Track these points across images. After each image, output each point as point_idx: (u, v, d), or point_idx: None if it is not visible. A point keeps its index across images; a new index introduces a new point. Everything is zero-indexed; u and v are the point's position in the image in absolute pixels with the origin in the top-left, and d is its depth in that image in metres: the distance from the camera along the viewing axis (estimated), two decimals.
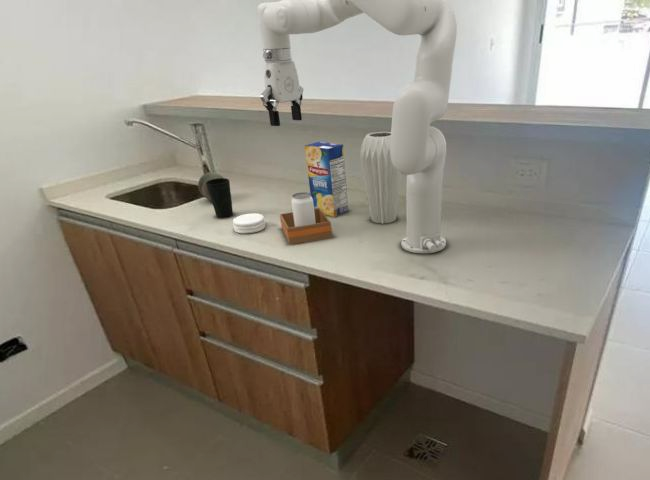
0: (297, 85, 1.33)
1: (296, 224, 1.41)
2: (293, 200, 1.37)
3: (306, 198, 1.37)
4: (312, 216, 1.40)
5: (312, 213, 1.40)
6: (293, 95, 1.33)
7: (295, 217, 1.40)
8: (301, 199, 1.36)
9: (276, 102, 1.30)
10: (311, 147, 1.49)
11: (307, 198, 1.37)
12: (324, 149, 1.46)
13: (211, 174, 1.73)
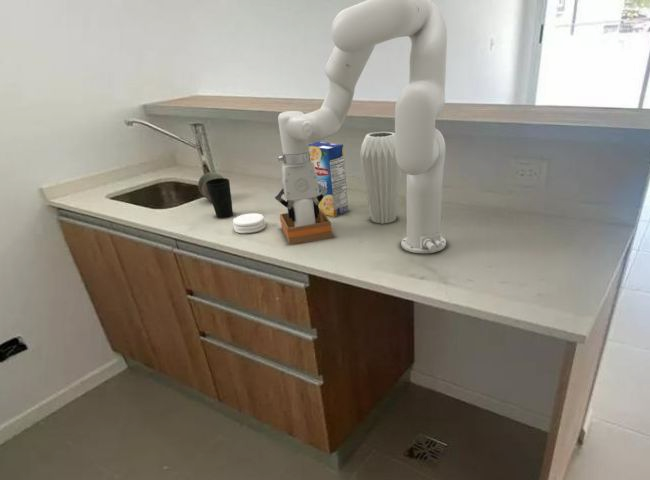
0: (314, 185, 1.35)
1: (296, 224, 1.41)
2: None
3: None
4: (312, 216, 1.40)
5: (312, 213, 1.40)
6: (307, 194, 1.36)
7: (295, 217, 1.40)
8: (301, 199, 1.36)
9: (290, 201, 1.37)
10: (311, 147, 1.49)
11: None
12: (324, 149, 1.46)
13: (211, 174, 1.73)
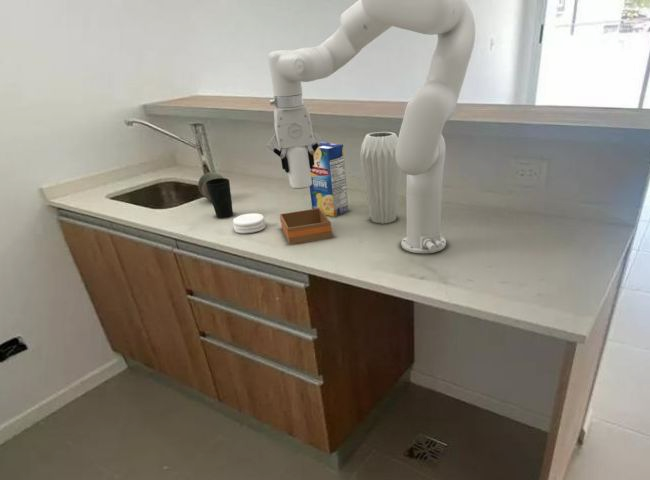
0: (308, 131, 1.28)
1: (290, 175, 1.34)
2: None
3: (300, 146, 1.29)
4: (307, 166, 1.33)
5: (307, 163, 1.32)
6: (301, 141, 1.29)
7: (289, 167, 1.32)
8: (295, 147, 1.29)
9: (283, 149, 1.30)
10: None
11: None
12: (324, 149, 1.46)
13: (211, 174, 1.73)
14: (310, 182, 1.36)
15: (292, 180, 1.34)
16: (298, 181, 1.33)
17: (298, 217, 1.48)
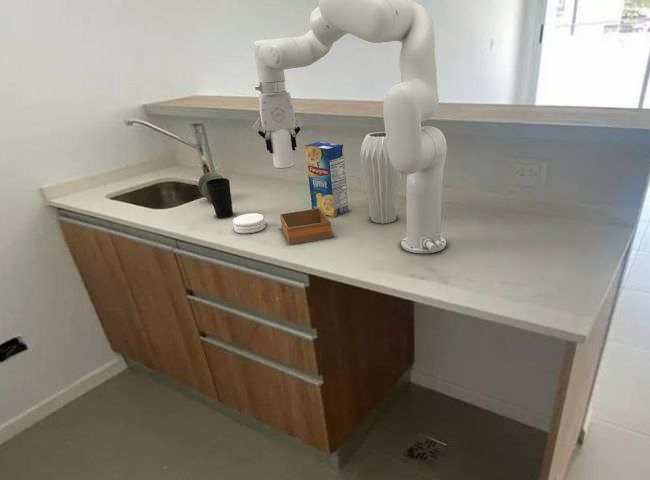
0: (290, 115, 1.39)
1: (274, 156, 1.45)
2: None
3: (283, 129, 1.41)
4: (289, 148, 1.44)
5: (289, 145, 1.44)
6: (284, 124, 1.40)
7: (273, 149, 1.44)
8: (278, 129, 1.40)
9: (267, 131, 1.41)
10: (311, 147, 1.49)
11: (284, 129, 1.41)
12: (324, 149, 1.46)
13: (211, 174, 1.73)
14: (292, 163, 1.47)
15: (276, 160, 1.45)
16: (281, 162, 1.45)
17: (298, 217, 1.48)
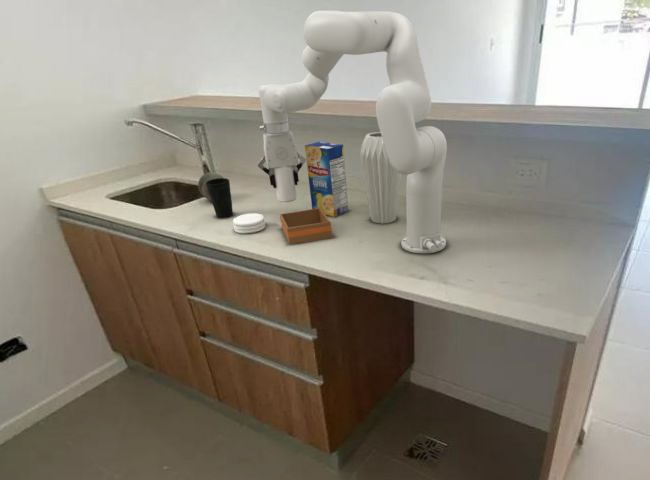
0: (293, 153, 1.48)
1: (277, 190, 1.53)
2: (274, 168, 1.50)
3: None
4: (292, 183, 1.52)
5: (292, 180, 1.52)
6: (287, 161, 1.48)
7: (276, 184, 1.52)
8: None
9: (271, 168, 1.49)
10: (311, 147, 1.49)
11: (287, 166, 1.49)
12: (324, 149, 1.46)
13: (211, 174, 1.73)
14: (295, 196, 1.55)
15: (279, 195, 1.53)
16: (284, 196, 1.53)
17: (298, 217, 1.48)
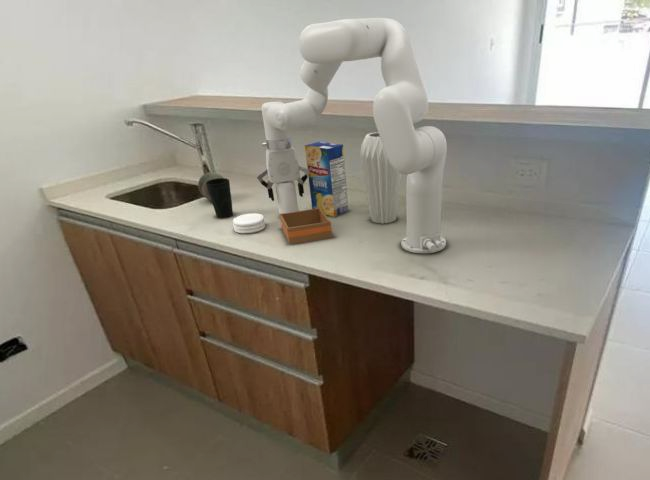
0: (295, 169, 1.50)
1: (280, 207, 1.56)
2: (277, 185, 1.52)
3: (288, 183, 1.52)
4: (294, 199, 1.55)
5: (294, 197, 1.55)
6: (289, 177, 1.51)
7: (279, 200, 1.55)
8: (284, 184, 1.51)
9: (271, 182, 1.51)
10: (311, 147, 1.49)
11: (289, 183, 1.52)
12: (324, 149, 1.46)
13: (211, 174, 1.73)
14: None
15: (282, 211, 1.56)
16: (287, 212, 1.56)
17: (298, 217, 1.48)
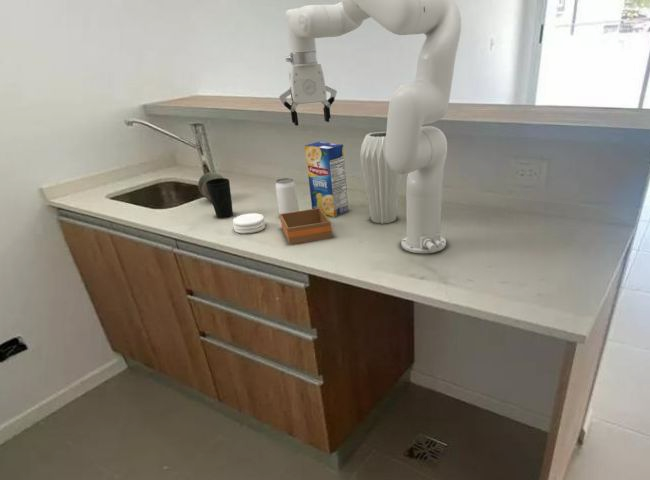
0: (321, 88, 1.36)
1: (280, 207, 1.56)
2: (277, 185, 1.52)
3: (288, 183, 1.52)
4: (294, 199, 1.55)
5: (294, 197, 1.55)
6: (315, 97, 1.37)
7: (279, 200, 1.55)
8: (284, 184, 1.51)
9: (295, 103, 1.37)
10: (311, 147, 1.49)
11: (289, 183, 1.52)
12: (324, 149, 1.46)
13: (211, 174, 1.73)
14: None
15: (281, 211, 1.56)
16: (287, 212, 1.56)
17: (298, 217, 1.48)
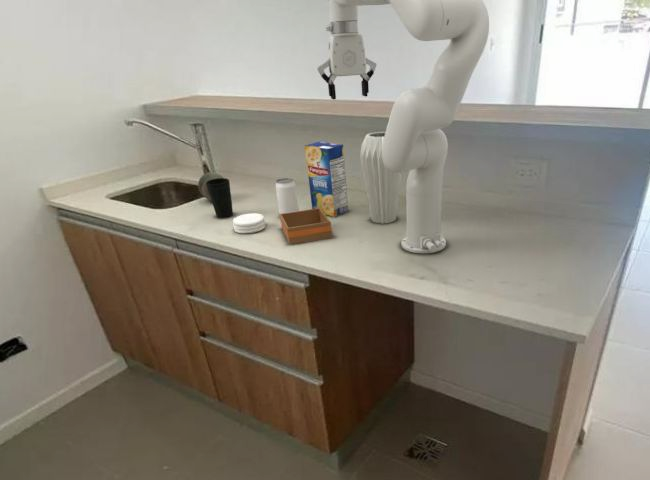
0: (361, 59, 1.31)
1: (280, 207, 1.56)
2: (277, 185, 1.52)
3: (288, 183, 1.52)
4: (294, 199, 1.55)
5: (294, 197, 1.55)
6: (354, 69, 1.31)
7: (279, 200, 1.55)
8: (284, 184, 1.51)
9: (333, 75, 1.32)
10: (311, 147, 1.49)
11: (289, 183, 1.52)
12: (324, 149, 1.46)
13: (211, 174, 1.73)
14: None
15: (281, 211, 1.56)
16: (287, 212, 1.56)
17: (298, 217, 1.48)
